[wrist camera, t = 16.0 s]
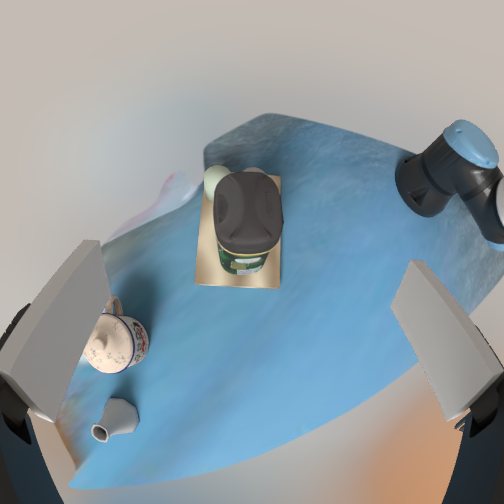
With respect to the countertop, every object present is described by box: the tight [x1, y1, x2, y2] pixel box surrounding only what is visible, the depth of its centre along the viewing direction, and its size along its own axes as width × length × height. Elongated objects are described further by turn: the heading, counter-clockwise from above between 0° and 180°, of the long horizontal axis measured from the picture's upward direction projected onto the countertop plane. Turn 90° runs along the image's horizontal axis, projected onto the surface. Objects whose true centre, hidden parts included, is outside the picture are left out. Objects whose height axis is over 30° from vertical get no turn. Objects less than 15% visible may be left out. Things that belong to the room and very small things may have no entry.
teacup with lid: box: [83, 295, 149, 374], centre depth 37 cm, size 12×9×12 cm
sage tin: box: [204, 165, 230, 203], centre depth 46 cm, size 4×4×6 cm
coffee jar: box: [213, 172, 284, 275], centre depth 37 cm, size 10×8×19 cm
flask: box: [91, 398, 139, 442], centre depth 33 cm, size 7×7×10 cm
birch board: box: [195, 172, 281, 289], centre depth 48 cm, size 14×21×2 cm, turn 177°
